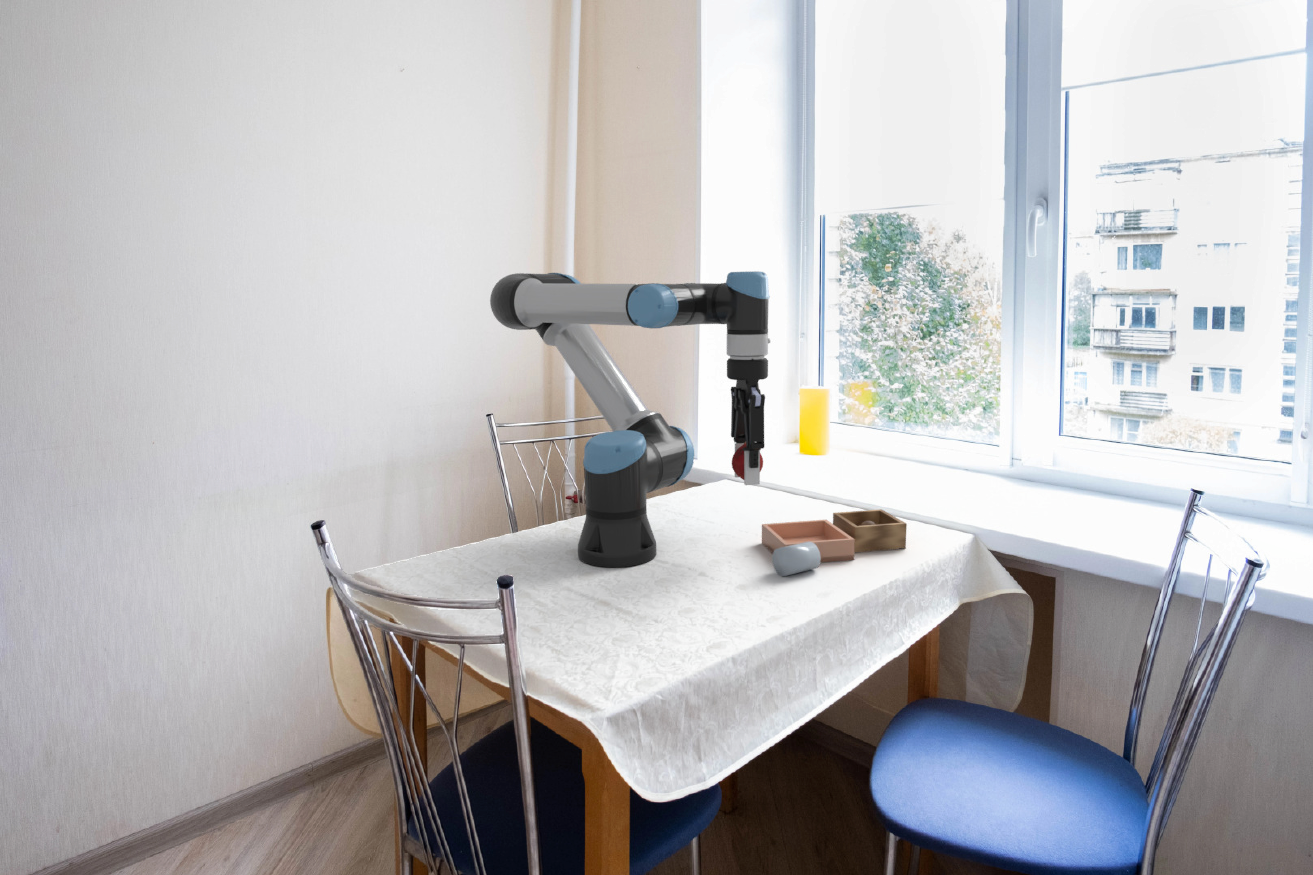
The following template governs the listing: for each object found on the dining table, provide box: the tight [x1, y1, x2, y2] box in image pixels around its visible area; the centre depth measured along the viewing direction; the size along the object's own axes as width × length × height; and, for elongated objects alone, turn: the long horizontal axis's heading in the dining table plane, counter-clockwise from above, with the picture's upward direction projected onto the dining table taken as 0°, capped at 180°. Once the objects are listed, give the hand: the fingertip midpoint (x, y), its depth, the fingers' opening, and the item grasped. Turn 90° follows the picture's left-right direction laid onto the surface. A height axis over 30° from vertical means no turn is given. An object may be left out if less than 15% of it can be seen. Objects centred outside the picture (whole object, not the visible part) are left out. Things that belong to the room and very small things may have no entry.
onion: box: [731, 442, 764, 481], centre depth 153 cm, size 6×6×8 cm
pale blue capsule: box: [771, 541, 821, 577], centre depth 147 cm, size 7×5×5 cm
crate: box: [832, 508, 908, 553], centre depth 163 cm, size 11×11×5 cm
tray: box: [761, 519, 855, 564], centre depth 158 cm, size 14×14×4 cm
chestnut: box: [860, 521, 876, 526], centre depth 163 cm, size 4×4×4 cm
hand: (746, 480), depth 154 cm, fingers closed on onion, 6 cm apart
